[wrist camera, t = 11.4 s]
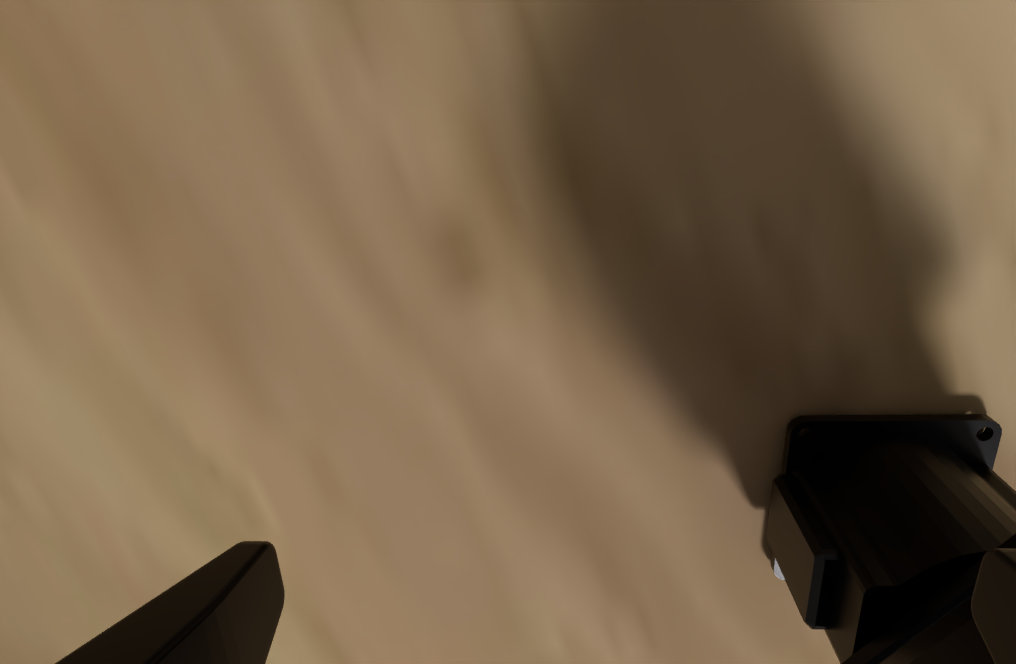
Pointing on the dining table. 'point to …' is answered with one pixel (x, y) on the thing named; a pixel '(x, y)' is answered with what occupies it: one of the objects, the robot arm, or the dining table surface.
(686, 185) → the dining table surface
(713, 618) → the dining table surface
